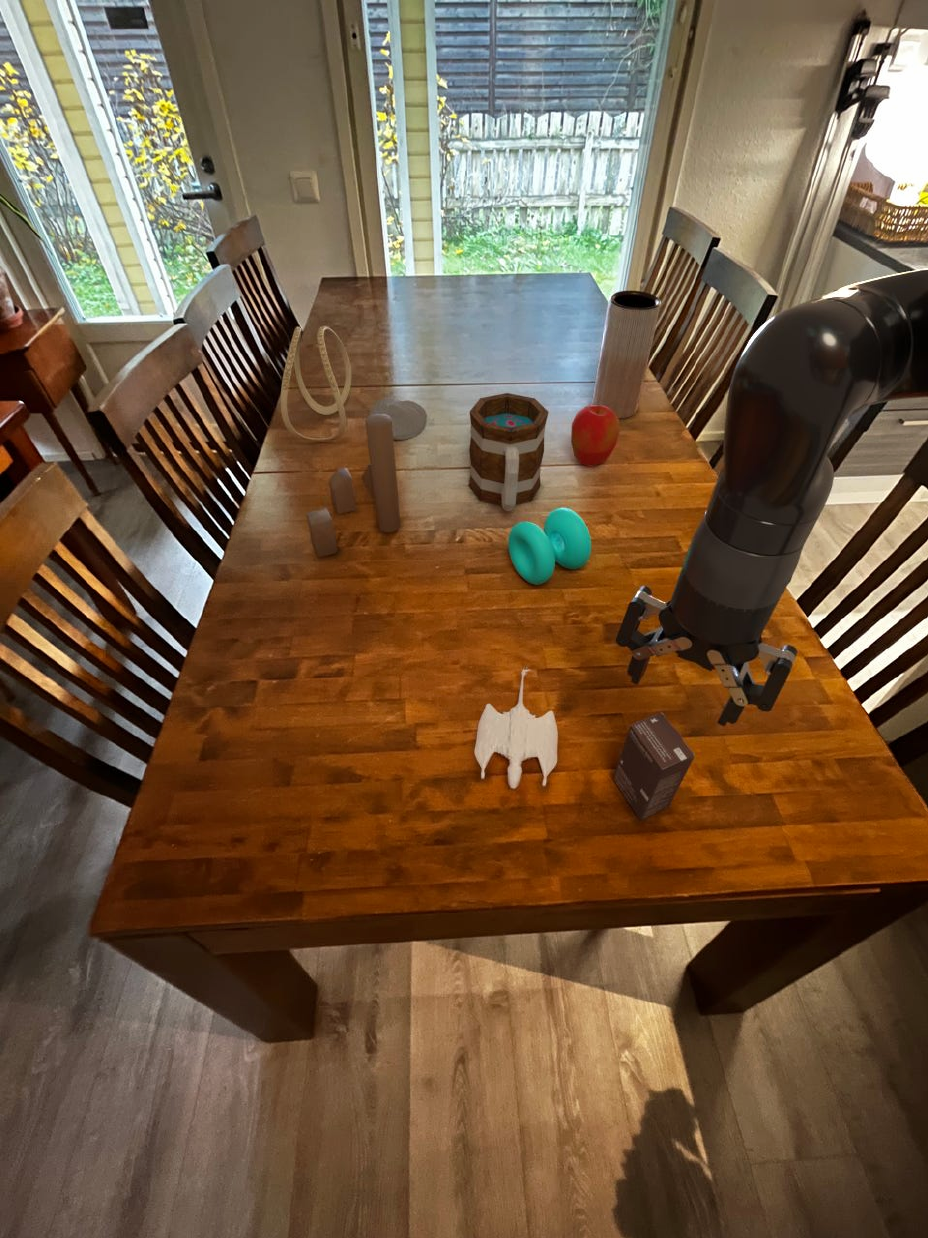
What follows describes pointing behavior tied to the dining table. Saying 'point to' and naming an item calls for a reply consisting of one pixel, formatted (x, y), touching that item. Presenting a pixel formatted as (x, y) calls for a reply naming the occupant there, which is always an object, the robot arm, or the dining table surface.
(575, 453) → the apple
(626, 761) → the box
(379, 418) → the wooden blocks
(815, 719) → the dining table surface
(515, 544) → the turquoise yo-yo
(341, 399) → the beige looped band
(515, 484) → the mug
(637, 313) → the planter
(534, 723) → the white dragon
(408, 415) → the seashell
